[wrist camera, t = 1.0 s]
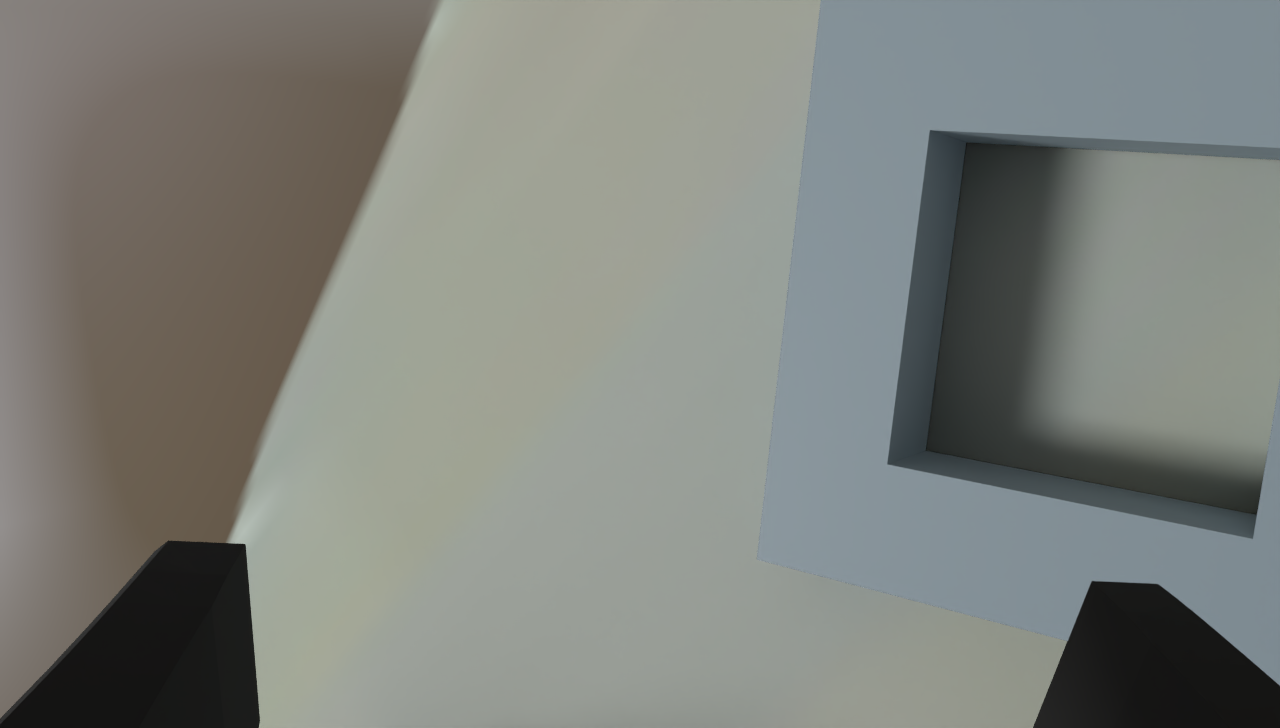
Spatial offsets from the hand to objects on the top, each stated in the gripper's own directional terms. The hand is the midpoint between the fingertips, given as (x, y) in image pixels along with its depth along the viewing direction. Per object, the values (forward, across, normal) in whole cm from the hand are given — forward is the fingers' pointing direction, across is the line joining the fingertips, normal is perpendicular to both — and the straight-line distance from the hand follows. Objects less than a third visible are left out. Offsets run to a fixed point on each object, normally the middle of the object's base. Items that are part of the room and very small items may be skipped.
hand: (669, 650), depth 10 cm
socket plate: (+10, -8, +2) cm, 13 cm away
